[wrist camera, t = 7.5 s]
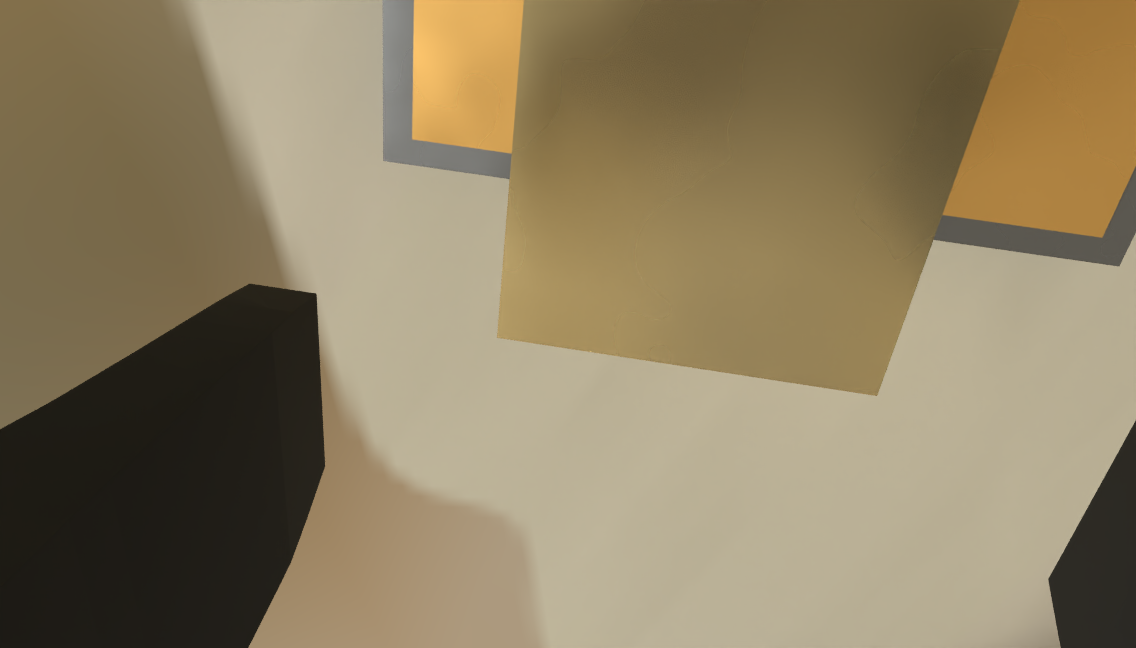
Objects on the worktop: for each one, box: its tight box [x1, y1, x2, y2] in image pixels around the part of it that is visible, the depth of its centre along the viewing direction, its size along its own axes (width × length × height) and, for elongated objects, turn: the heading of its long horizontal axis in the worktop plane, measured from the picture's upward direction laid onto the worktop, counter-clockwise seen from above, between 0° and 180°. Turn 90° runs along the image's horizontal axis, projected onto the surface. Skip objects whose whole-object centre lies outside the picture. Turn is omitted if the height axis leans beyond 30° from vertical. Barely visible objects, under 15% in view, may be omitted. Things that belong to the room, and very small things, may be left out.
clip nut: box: [497, 0, 1020, 396], centre depth 12 cm, size 5×4×5 cm
